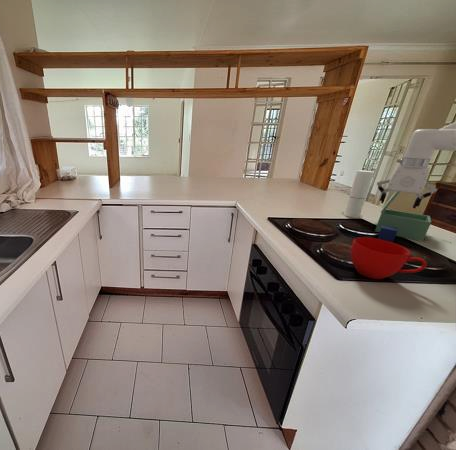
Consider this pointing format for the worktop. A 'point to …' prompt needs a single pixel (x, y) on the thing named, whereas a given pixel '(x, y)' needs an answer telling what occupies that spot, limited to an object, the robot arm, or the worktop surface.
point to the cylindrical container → (358, 193)
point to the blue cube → (387, 233)
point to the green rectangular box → (405, 223)
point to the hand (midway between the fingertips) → (397, 205)
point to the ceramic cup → (380, 258)
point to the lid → (389, 201)
